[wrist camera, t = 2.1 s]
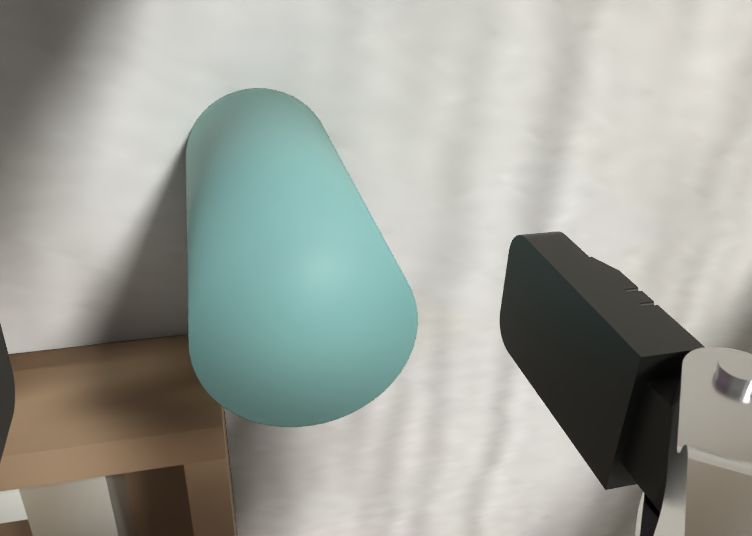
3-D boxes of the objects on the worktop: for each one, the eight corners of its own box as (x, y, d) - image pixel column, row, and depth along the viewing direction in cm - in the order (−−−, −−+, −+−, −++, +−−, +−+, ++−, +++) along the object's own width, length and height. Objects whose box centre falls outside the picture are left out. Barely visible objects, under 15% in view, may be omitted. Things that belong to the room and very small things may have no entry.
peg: (329, 85, 17) (424, 224, 11) (330, 218, 19) (412, 411, 12) (178, 91, 17) (175, 245, 10) (193, 229, 18) (200, 440, 12)
